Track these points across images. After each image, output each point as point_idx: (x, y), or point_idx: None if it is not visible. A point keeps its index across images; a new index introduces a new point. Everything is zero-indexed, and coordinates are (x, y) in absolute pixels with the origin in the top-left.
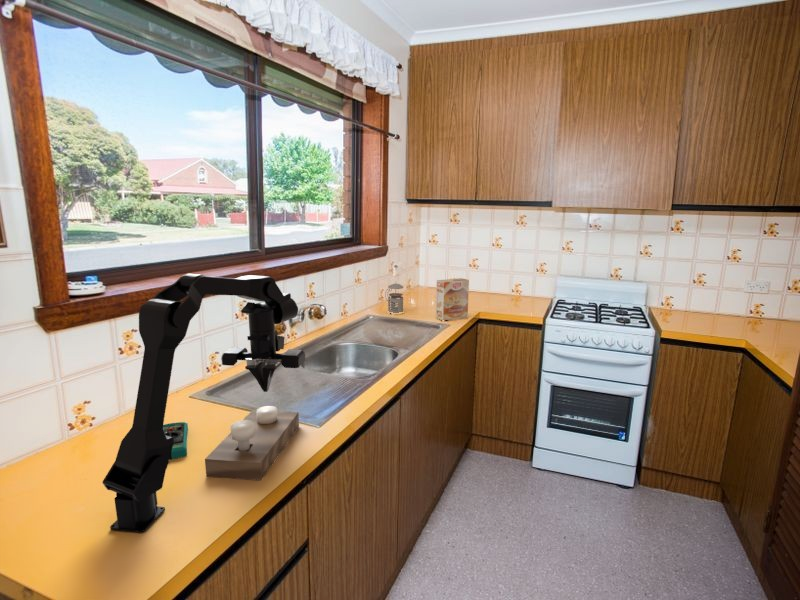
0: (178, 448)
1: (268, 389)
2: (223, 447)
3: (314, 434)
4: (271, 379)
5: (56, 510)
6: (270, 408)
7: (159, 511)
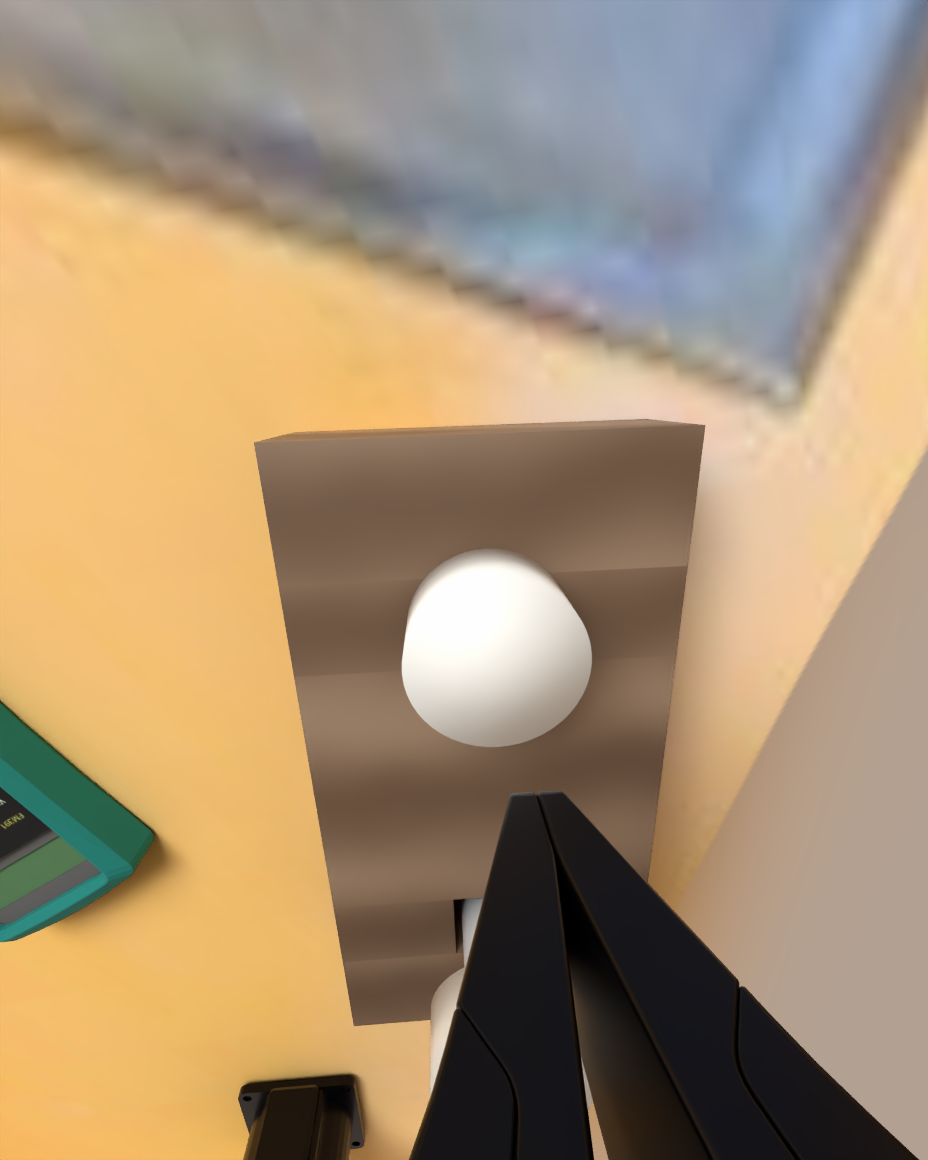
0: (98, 892)
1: (567, 800)
2: (381, 944)
3: (772, 512)
4: (695, 942)
5: (8, 1126)
6: (519, 631)
7: (348, 1098)
